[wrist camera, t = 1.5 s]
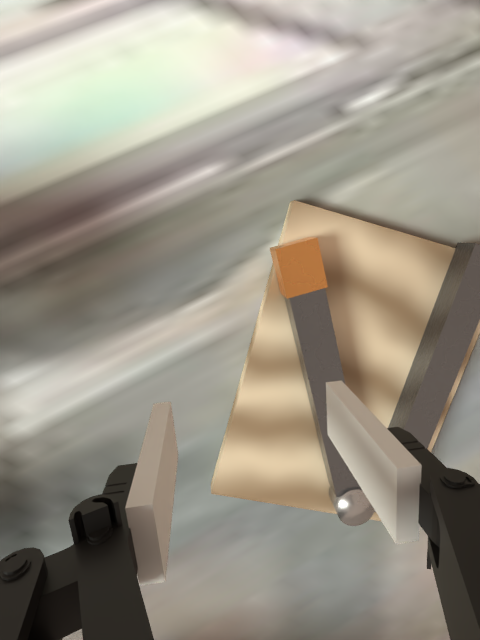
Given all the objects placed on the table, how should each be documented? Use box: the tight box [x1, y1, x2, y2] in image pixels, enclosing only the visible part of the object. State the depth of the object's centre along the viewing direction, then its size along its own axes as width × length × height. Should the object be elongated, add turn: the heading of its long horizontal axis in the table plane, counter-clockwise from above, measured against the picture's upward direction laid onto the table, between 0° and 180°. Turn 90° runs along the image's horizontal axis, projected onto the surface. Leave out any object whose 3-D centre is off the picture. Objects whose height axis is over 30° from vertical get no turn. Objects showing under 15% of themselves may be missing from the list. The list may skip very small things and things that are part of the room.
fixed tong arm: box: [374, 243, 480, 512], centre depth 34 cm, size 26×3×2 cm, turn 165°
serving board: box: [211, 200, 480, 521], centre depth 36 cm, size 28×20×2 cm
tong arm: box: [270, 237, 375, 526], centre depth 33 cm, size 27×4×3 cm, turn 15°
